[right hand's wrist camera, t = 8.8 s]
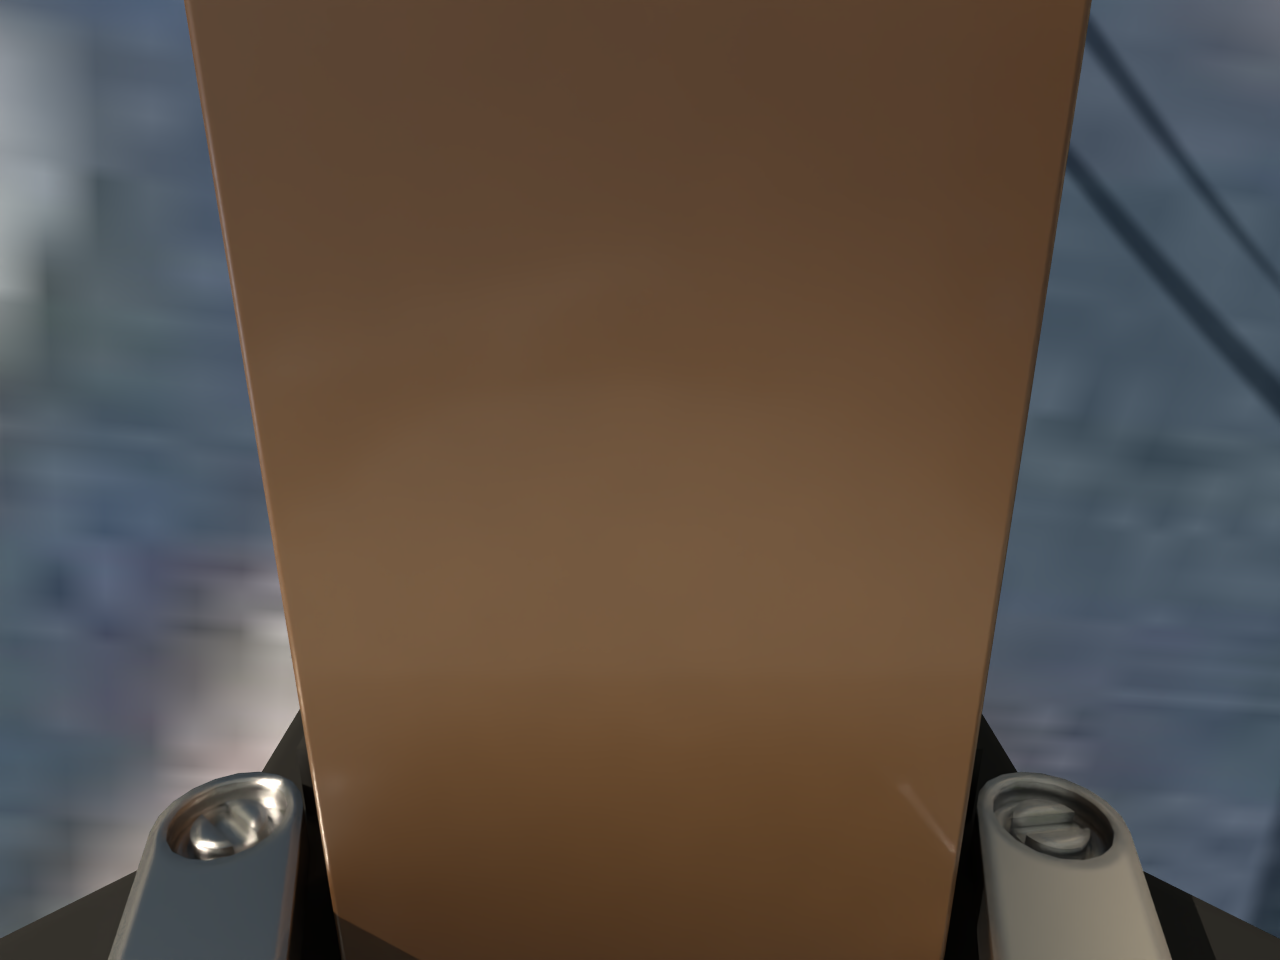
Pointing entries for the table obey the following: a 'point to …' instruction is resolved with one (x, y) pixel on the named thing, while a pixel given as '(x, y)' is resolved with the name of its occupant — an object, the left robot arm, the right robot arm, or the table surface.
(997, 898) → the right robot arm
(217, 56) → the post
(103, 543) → the table surface
